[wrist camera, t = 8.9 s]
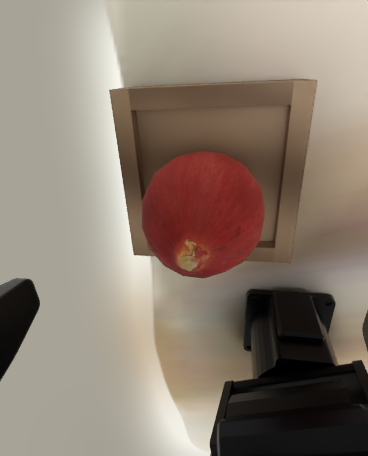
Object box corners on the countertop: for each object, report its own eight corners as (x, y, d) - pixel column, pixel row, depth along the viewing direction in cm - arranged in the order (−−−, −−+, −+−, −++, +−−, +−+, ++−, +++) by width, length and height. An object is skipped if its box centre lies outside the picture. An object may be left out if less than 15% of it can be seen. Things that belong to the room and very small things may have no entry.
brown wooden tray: (283, 237, 21) (290, 262, 18) (146, 232, 22) (134, 255, 20) (303, 78, 16) (316, 80, 13) (129, 87, 18) (109, 89, 15)
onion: (249, 233, 18) (253, 339, 12) (160, 220, 19) (115, 313, 12) (270, 141, 15) (292, 210, 9) (163, 128, 16) (105, 184, 9)
